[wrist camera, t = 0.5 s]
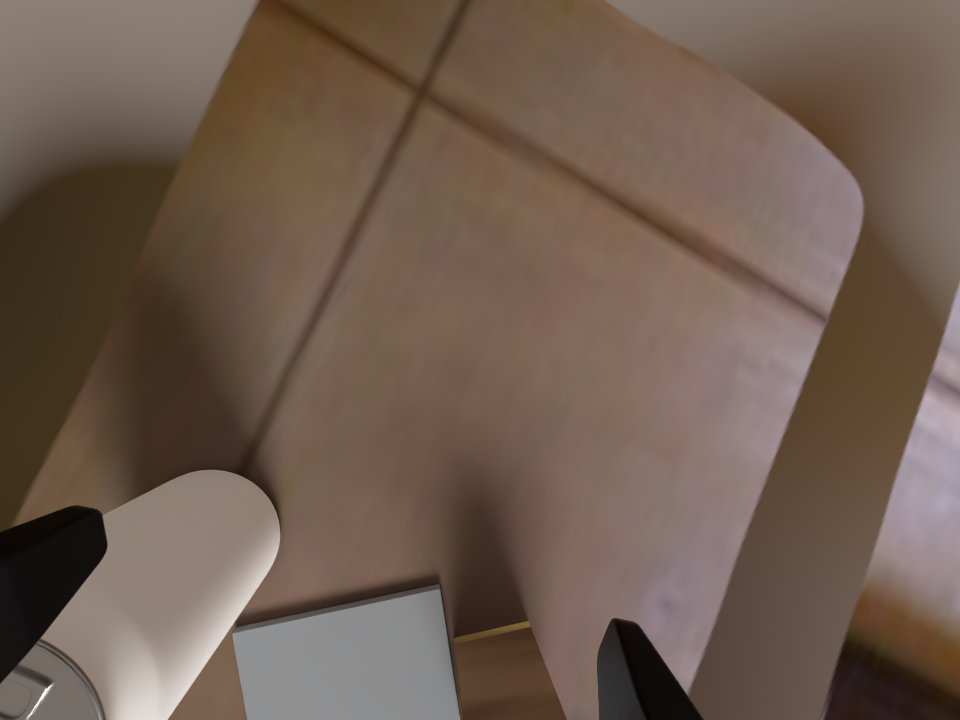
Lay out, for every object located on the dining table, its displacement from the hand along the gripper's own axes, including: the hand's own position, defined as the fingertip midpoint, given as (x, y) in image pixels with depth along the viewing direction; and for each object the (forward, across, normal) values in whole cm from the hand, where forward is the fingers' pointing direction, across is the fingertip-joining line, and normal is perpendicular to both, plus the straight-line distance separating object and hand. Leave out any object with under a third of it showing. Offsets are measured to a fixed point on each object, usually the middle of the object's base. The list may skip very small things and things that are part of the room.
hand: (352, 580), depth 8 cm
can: (+10, +10, +11) cm, 18 cm away
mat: (+9, +2, +19) cm, 21 cm away
